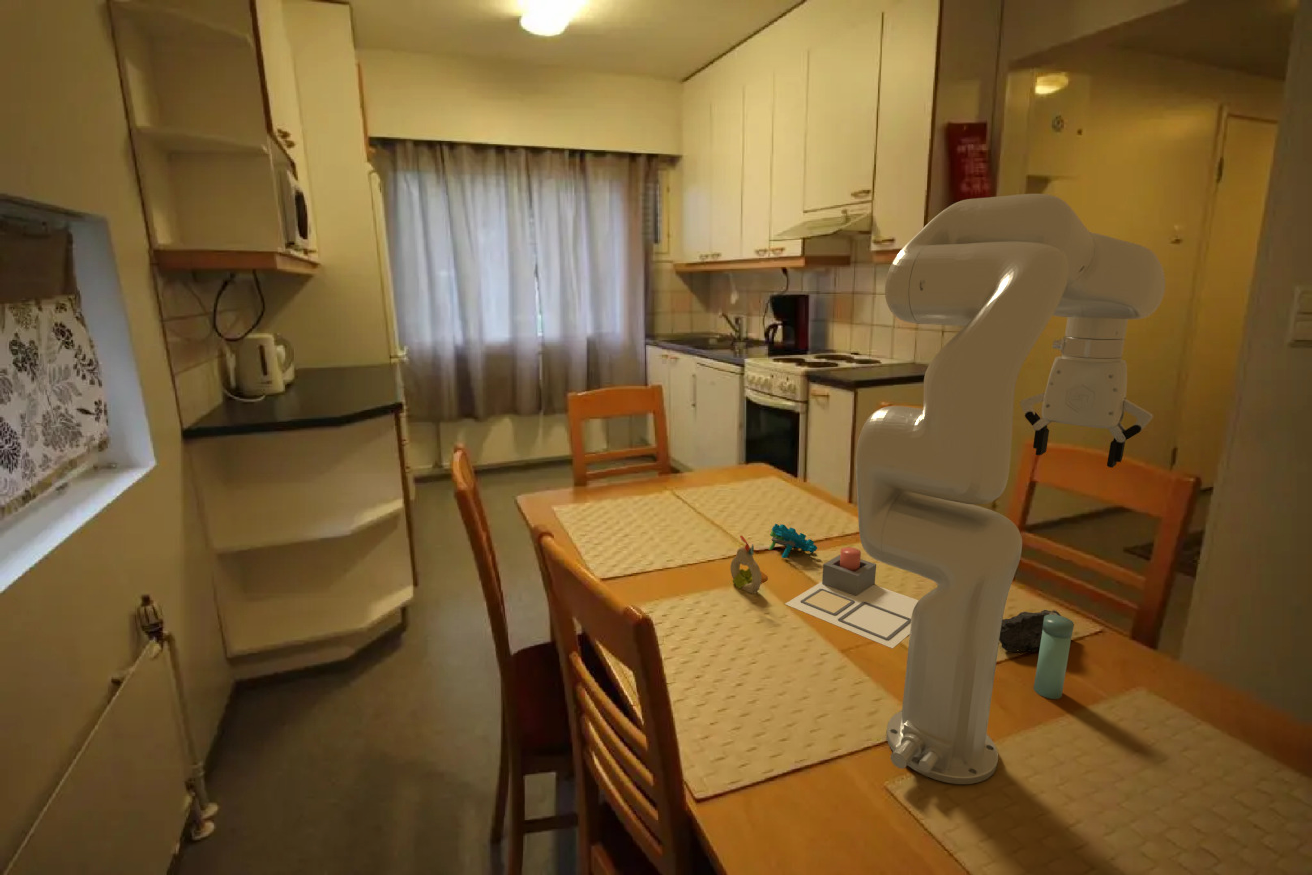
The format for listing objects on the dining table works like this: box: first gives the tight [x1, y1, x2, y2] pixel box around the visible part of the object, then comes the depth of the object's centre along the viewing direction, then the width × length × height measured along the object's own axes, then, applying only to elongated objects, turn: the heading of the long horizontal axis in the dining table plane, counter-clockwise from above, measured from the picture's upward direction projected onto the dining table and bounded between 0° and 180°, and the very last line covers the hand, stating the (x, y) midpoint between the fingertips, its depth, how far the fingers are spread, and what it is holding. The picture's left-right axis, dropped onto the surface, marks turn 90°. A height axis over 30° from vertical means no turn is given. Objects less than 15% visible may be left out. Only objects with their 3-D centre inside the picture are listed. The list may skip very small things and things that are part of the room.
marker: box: [1033, 614, 1075, 700], centre depth 90 cm, size 4×4×11 cm
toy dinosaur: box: [768, 523, 818, 559], centre depth 135 cm, size 11×6×10 cm
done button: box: [839, 546, 862, 572], centre depth 121 cm, size 4×4×5 cm
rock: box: [999, 609, 1062, 653], centre depth 103 cm, size 12×8×10 cm
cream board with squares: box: [784, 581, 920, 650], centre depth 114 cm, size 18×20×1 cm
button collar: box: [821, 554, 877, 596], centre depth 122 cm, size 7×7×4 cm
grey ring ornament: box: [730, 534, 769, 595], centre depth 120 cm, size 8×8×12 cm
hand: (1075, 459), depth 101 cm, fingers open, 9 cm apart
